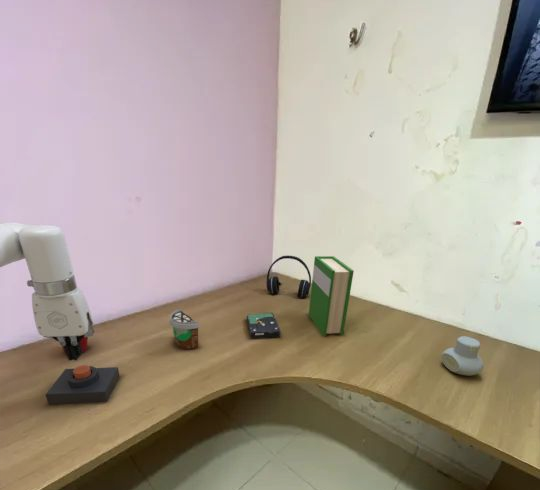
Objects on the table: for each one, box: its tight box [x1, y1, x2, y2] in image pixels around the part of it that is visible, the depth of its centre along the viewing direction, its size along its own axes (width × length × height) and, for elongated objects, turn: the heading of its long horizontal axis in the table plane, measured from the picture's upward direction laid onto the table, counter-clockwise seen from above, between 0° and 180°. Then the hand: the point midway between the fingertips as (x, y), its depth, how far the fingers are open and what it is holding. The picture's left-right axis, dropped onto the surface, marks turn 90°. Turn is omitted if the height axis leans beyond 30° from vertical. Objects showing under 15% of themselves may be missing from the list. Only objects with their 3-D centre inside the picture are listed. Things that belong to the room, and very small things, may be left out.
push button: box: [73, 364, 91, 379], centre depth 76 cm, size 4×4×2 cm
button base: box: [45, 365, 121, 406], centre depth 77 cm, size 13×10×5 cm
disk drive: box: [246, 312, 281, 339], centre depth 112 cm, size 10×3×15 cm
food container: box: [169, 308, 200, 350], centre depth 98 cm, size 12×6×10 cm, turn 40°
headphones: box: [266, 255, 312, 298], centre depth 139 cm, size 20×7×18 cm, turn 77°
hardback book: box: [308, 255, 355, 337], centre depth 112 cm, size 18×7×24 cm, turn 11°
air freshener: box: [441, 335, 485, 377], centre depth 92 cm, size 11×8×10 cm
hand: (75, 357), depth 74 cm, fingers closed
